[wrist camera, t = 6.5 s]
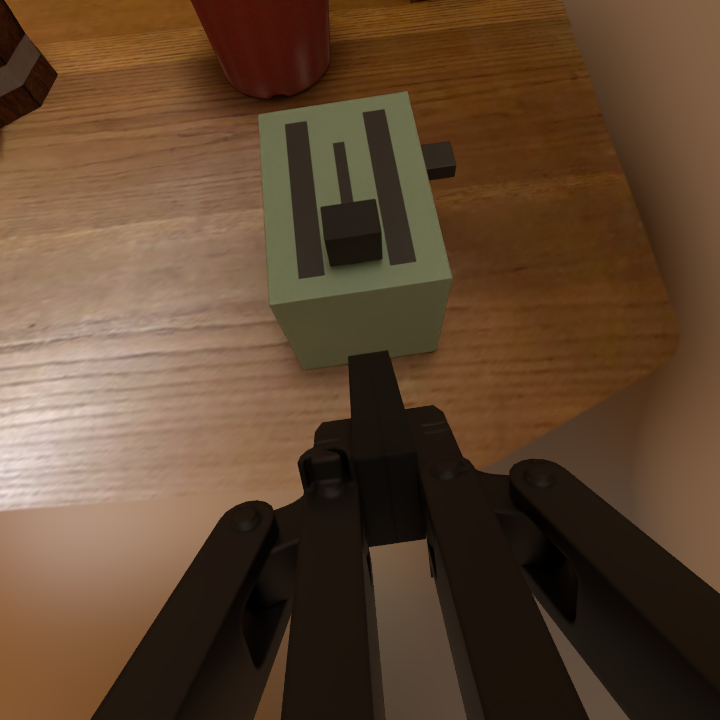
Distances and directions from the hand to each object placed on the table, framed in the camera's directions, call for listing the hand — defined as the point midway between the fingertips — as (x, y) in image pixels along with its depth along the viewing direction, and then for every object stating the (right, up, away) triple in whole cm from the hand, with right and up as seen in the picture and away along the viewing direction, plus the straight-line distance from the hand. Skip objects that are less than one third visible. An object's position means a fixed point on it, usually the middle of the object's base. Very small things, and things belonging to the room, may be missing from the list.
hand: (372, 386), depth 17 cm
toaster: (+1, +8, +23) cm, 24 cm away
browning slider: (-1, +8, +11) cm, 13 cm away
